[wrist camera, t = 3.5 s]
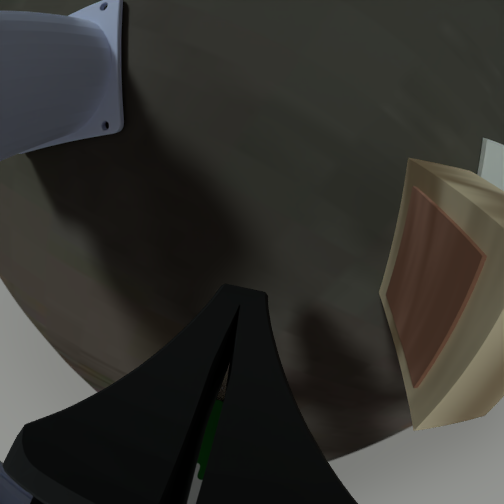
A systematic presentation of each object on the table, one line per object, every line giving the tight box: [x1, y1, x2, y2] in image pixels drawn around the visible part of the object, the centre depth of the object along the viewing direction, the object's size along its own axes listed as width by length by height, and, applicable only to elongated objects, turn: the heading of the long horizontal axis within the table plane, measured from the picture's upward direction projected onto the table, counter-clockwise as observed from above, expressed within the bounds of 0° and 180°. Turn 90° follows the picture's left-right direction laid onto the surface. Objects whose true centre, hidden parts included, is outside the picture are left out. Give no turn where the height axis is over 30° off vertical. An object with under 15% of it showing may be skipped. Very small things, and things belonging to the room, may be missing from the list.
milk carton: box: [187, 399, 223, 504], centre depth 17 cm, size 9×9×20 cm
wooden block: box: [379, 158, 504, 431], centre depth 10 cm, size 4×8×9 cm, turn 0°
